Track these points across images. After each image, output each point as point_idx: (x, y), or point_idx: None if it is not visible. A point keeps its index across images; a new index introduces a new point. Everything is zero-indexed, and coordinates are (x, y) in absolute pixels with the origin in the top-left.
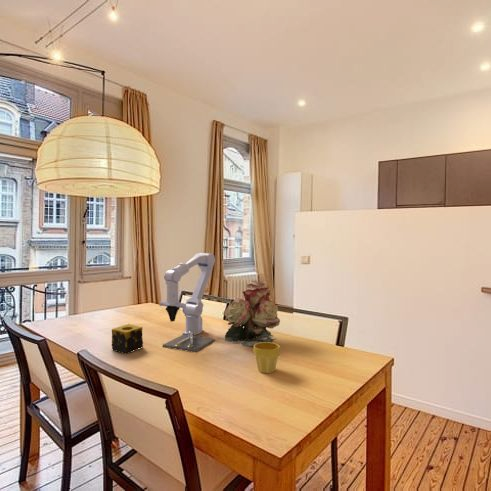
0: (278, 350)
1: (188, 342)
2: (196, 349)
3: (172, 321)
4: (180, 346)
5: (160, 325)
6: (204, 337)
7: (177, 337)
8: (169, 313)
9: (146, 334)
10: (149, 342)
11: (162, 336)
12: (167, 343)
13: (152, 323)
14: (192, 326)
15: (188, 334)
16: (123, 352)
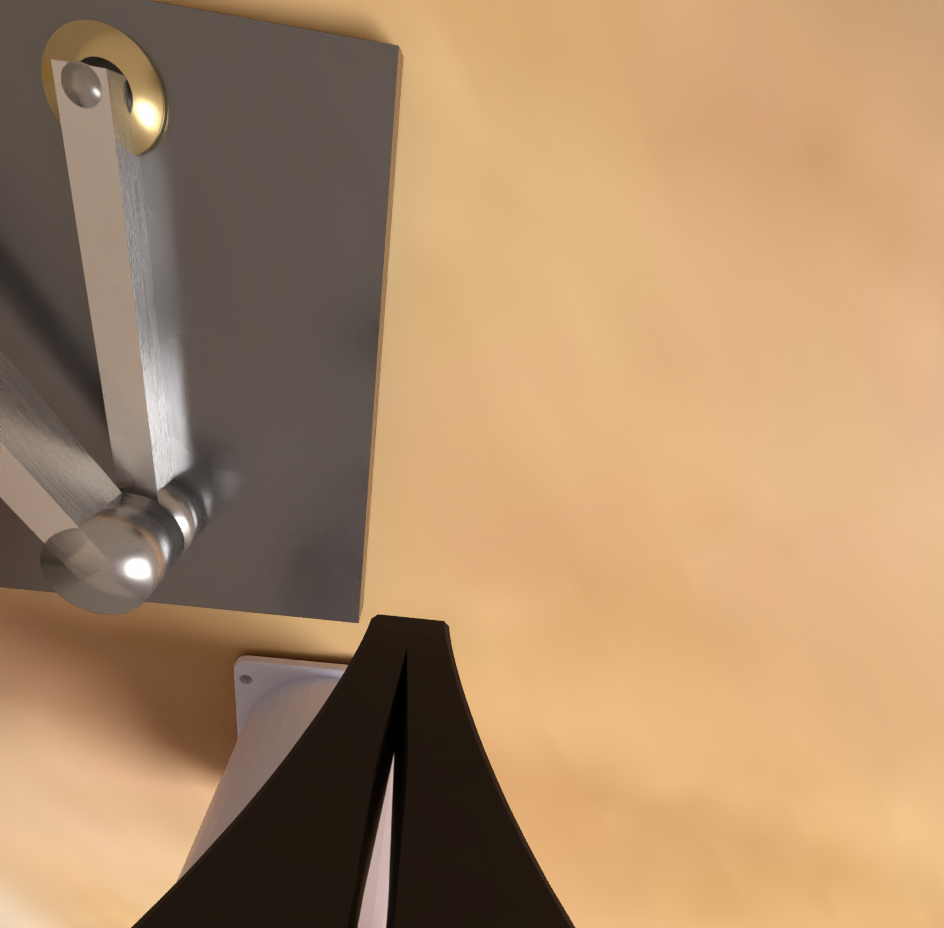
0: None
1: (53, 317)
2: None
3: (375, 617)
4: (13, 41)
5: (795, 829)
6: (15, 584)
7: (366, 491)
8: (436, 840)
9: (880, 549)
10: (727, 229)
11: (632, 533)
12: (352, 154)
13: (902, 856)
14: (253, 770)
15: (145, 516)
16: None
